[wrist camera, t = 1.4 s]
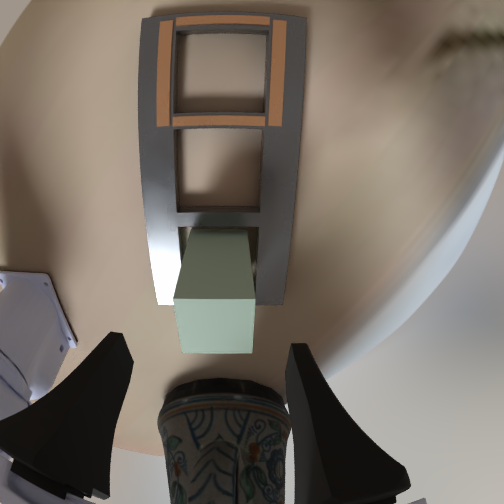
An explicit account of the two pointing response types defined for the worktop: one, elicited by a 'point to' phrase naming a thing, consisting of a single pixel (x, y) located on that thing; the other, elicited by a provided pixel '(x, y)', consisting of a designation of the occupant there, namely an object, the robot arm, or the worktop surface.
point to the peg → (215, 293)
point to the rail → (270, 121)
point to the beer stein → (225, 442)
